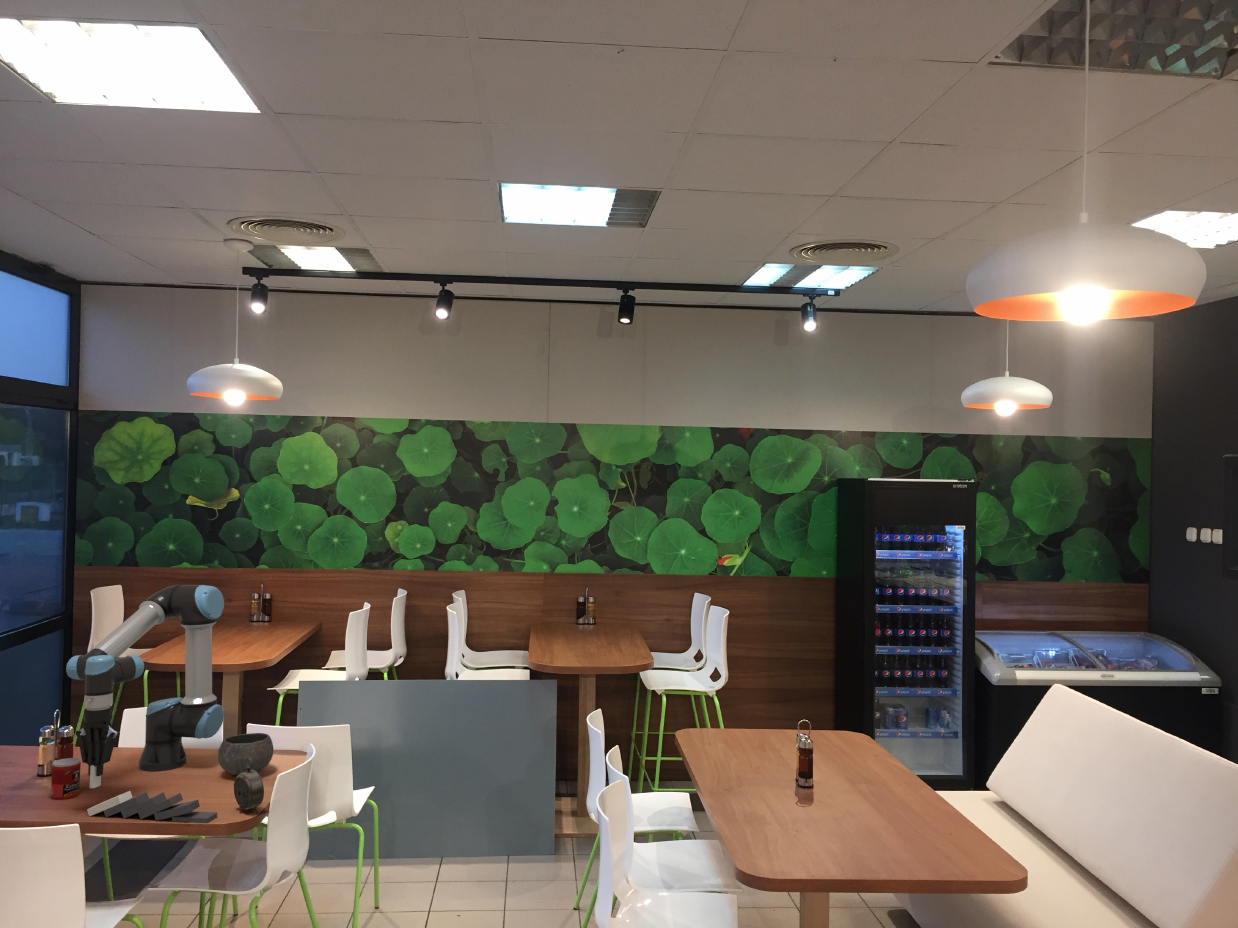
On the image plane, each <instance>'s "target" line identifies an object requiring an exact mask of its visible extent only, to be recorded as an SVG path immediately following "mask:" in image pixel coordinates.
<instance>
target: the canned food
mask: <svg viewBox="0 0 1238 928" xmlns="http://www.w3.org/2000/svg"><path fill="white" fill-rule="evenodd" d="M81 762H82V760H81V759H80V758H77V757H69V758H68V757H67V758H62V759H61V758H60V759H57V760H54V761H53V762H52V764H51V783H50V784H51V785H50V797H51V799H52V800H55V801H62V800H63V801H65V800H69V799H73V798H75V797H77V796H79V793H80V788H81V787H80V785H81V765H82V764H81Z"/></svg>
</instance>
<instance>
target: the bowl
mask: <svg viewBox="0 0 1238 928" xmlns="http://www.w3.org/2000/svg"><path fill="white" fill-rule="evenodd" d="M273 756H274V743H273V741H272V737H271V736H270V735H269V734H268V733H265V732H264V733H263V732H252V733H242V734H236V735H230V736H227V737H226V738H225V737H224V739H223V740H222V742H221V743H220V745H219V748H218V753H217V760H218V763H219V765H220V766H219V767H220V768H222V770H223V771H224V772H226V773H227V774H230V775H232V776H235V777H237V776H238V775H239V774H240V773H243V772H246V771H247V767H251V761H250V759H247V758H251V760H252V767H251V768H250V770H255V771H256V772H258V773H259V772H262V771H263V770H264V769H265V768H266V767H267V766H268V765H269V764H270V763H271V761H272V758H273ZM246 759H247V761H246ZM246 764H247V767H246Z"/></svg>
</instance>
